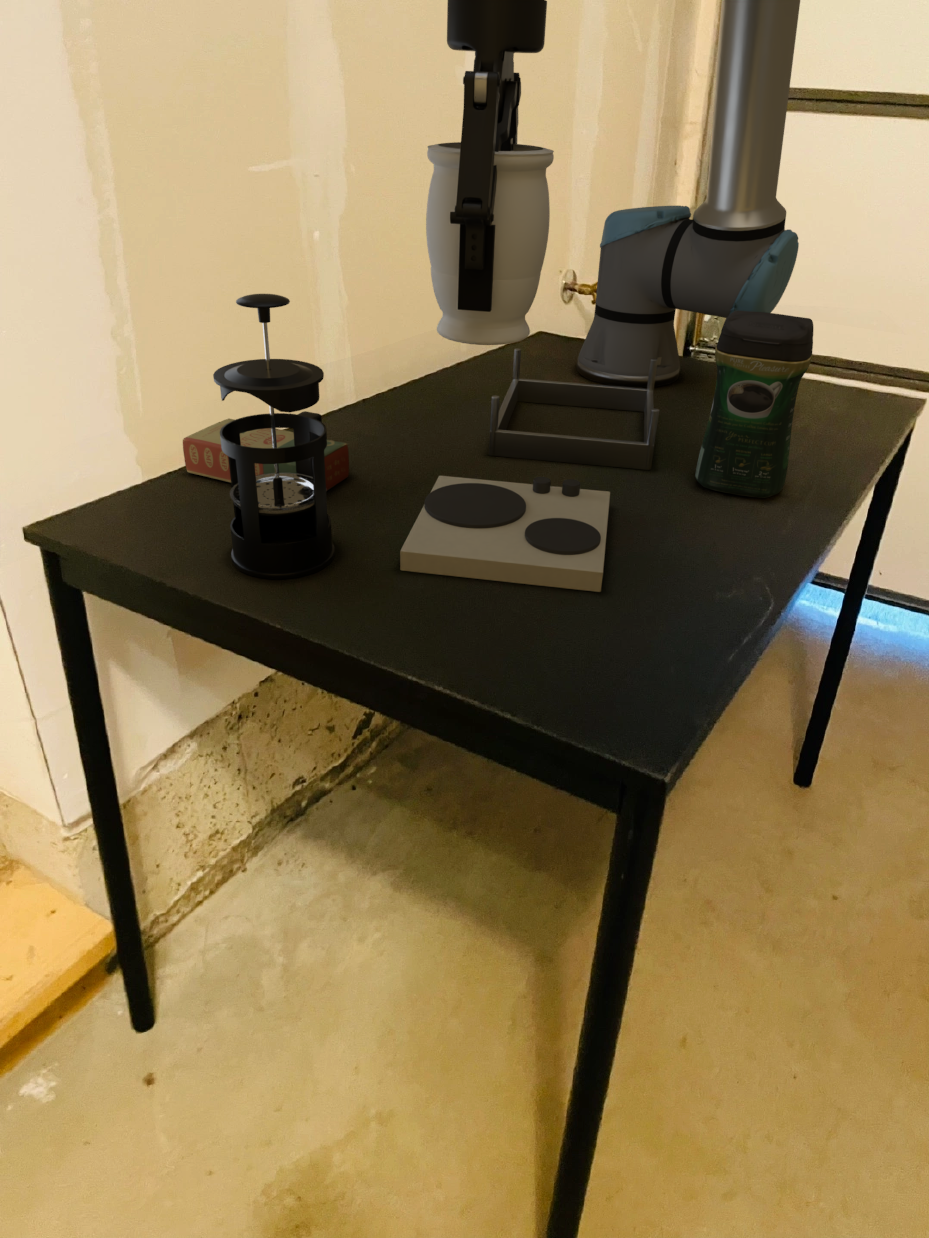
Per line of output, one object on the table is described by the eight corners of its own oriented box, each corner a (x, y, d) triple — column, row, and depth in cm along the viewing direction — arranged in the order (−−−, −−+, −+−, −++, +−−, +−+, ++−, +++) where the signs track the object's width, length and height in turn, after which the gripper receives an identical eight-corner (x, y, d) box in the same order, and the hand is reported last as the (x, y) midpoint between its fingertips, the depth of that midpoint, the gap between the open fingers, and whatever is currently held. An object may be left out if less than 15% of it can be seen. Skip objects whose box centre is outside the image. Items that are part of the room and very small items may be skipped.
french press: (295, 592, 78) (274, 317, 66) (205, 568, 81) (170, 302, 69) (362, 538, 87) (354, 288, 76) (279, 519, 90) (259, 276, 79)
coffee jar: (786, 480, 103) (825, 311, 93) (777, 506, 97) (817, 328, 87) (701, 465, 106) (730, 301, 97) (686, 489, 100) (716, 316, 90)
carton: (233, 451, 106) (229, 415, 104) (351, 477, 100) (350, 440, 98) (185, 474, 99) (180, 436, 97) (309, 504, 94) (307, 465, 91)
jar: (532, 355, 76) (546, 154, 68) (412, 344, 78) (412, 147, 70) (547, 325, 85) (561, 145, 77) (440, 317, 87) (443, 139, 79)
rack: (511, 399, 125) (514, 348, 122) (650, 410, 123) (657, 358, 119) (488, 455, 107) (491, 397, 103) (651, 470, 104) (659, 411, 101)
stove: (438, 492, 97) (439, 464, 96) (608, 509, 95) (611, 480, 93) (400, 570, 82) (399, 538, 80) (600, 592, 80) (604, 560, 78)
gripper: (473, 0, 79) (465, 269, 90) (415, -26, 59) (414, 323, 70) (560, 2, 78) (540, 274, 89) (530, -23, 58) (510, 330, 69)
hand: (485, 296), depth 80 cm, fingers closed on jar, 11 cm apart
